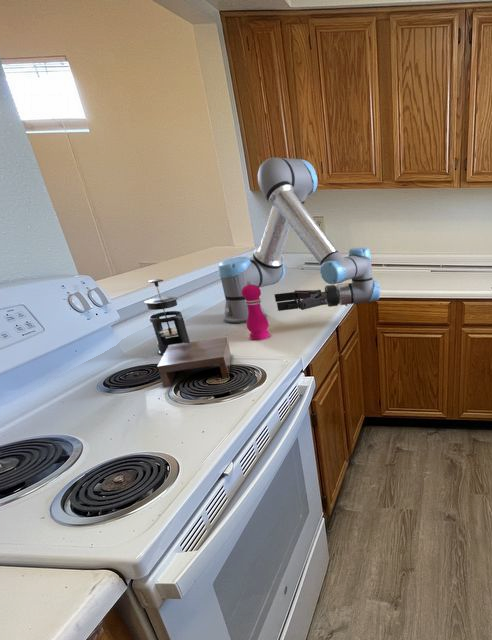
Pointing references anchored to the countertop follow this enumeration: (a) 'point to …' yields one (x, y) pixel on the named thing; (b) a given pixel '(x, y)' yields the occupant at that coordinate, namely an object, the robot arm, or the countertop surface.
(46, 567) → the countertop surface
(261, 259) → the robot arm
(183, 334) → the french press
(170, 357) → the shelf
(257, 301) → the pepper mill
